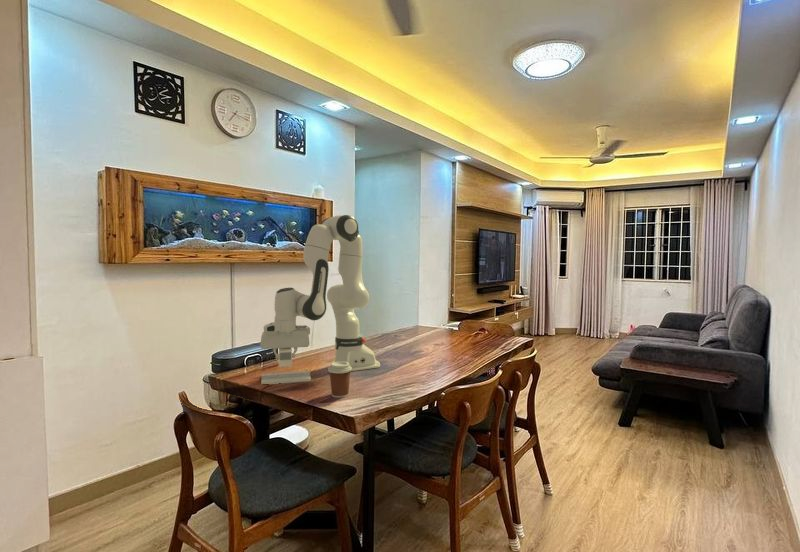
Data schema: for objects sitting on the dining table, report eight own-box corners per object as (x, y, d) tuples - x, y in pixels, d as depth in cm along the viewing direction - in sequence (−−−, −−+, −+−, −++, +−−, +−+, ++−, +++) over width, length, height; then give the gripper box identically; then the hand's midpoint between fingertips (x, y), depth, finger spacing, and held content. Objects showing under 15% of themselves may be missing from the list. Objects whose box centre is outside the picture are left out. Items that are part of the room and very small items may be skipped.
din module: (290, 361, 184) (290, 346, 184) (291, 366, 175) (291, 350, 175) (278, 362, 183) (278, 346, 182) (279, 367, 174) (279, 351, 174)
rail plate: (308, 373, 188) (308, 367, 188) (311, 381, 177) (311, 375, 177) (261, 377, 183) (261, 371, 182) (261, 385, 171) (261, 379, 171)
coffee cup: (335, 389, 165) (335, 359, 165) (356, 392, 162) (356, 362, 161) (323, 397, 157) (323, 365, 156) (344, 400, 154) (344, 367, 153)
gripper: (309, 324, 185) (309, 355, 185) (260, 325, 179) (260, 357, 179) (310, 326, 179) (310, 358, 179) (260, 327, 173) (260, 361, 173)
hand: (285, 358), depth 179 cm, fingers closed on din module, 5 cm apart
